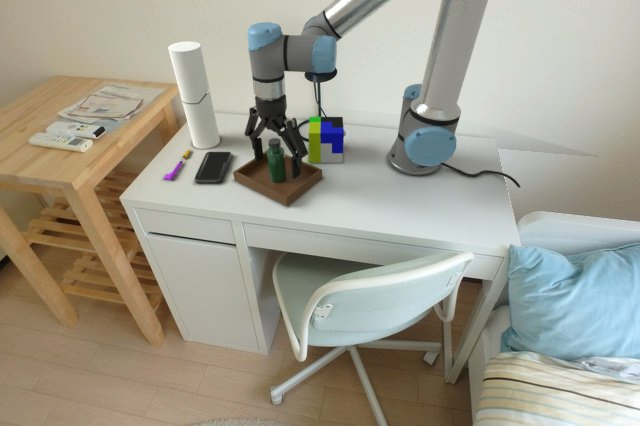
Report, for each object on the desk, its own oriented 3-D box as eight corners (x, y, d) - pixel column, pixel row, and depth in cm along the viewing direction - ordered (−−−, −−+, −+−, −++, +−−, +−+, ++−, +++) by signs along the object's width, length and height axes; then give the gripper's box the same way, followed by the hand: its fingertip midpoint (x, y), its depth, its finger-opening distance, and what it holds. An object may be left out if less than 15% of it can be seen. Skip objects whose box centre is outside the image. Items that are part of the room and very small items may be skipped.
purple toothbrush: (172, 180, 107) (192, 150, 119) (170, 177, 106) (190, 147, 119) (164, 181, 108) (184, 152, 120) (162, 178, 107) (182, 149, 119)
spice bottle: (290, 176, 108) (287, 139, 100) (278, 185, 105) (275, 147, 97) (277, 171, 110) (273, 134, 102) (266, 179, 107) (261, 142, 99)
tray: (322, 178, 108) (322, 169, 106) (287, 207, 98) (286, 197, 96) (271, 156, 117) (270, 147, 115) (234, 180, 107) (232, 171, 105)
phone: (193, 180, 106) (206, 151, 117) (194, 183, 106) (207, 154, 118) (221, 180, 105) (232, 151, 117) (222, 183, 106) (232, 154, 117)
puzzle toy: (342, 162, 114) (343, 133, 107) (309, 162, 114) (308, 133, 107) (341, 145, 121) (342, 116, 115) (310, 145, 122) (309, 116, 115)
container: (223, 135, 127) (204, 41, 107) (215, 149, 120) (193, 51, 100) (198, 134, 127) (175, 41, 107) (189, 148, 121) (162, 51, 101)
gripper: (321, 101, 88) (321, 176, 102) (244, 77, 99) (254, 148, 113) (301, 114, 83) (304, 190, 97) (223, 87, 94) (236, 159, 108)
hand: (277, 167), depth 105 cm, fingers open, 13 cm apart
